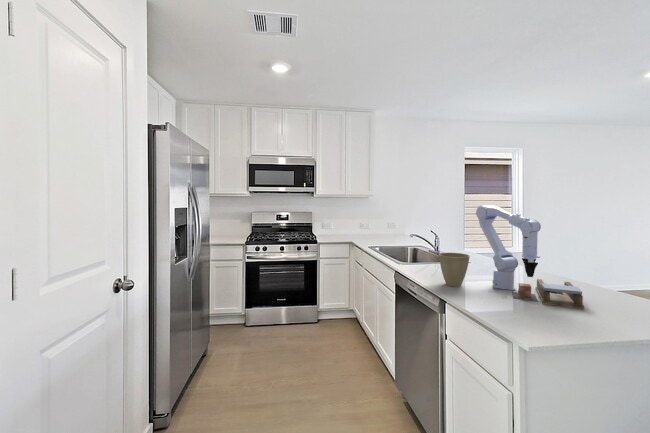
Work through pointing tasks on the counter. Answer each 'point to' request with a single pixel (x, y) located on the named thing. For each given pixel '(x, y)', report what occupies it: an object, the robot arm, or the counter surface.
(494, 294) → the counter surface
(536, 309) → the counter surface
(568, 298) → the brown tray
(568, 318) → the counter surface
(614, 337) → the counter surface
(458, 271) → the plant pot
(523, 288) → the block
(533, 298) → the mat
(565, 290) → the lid
